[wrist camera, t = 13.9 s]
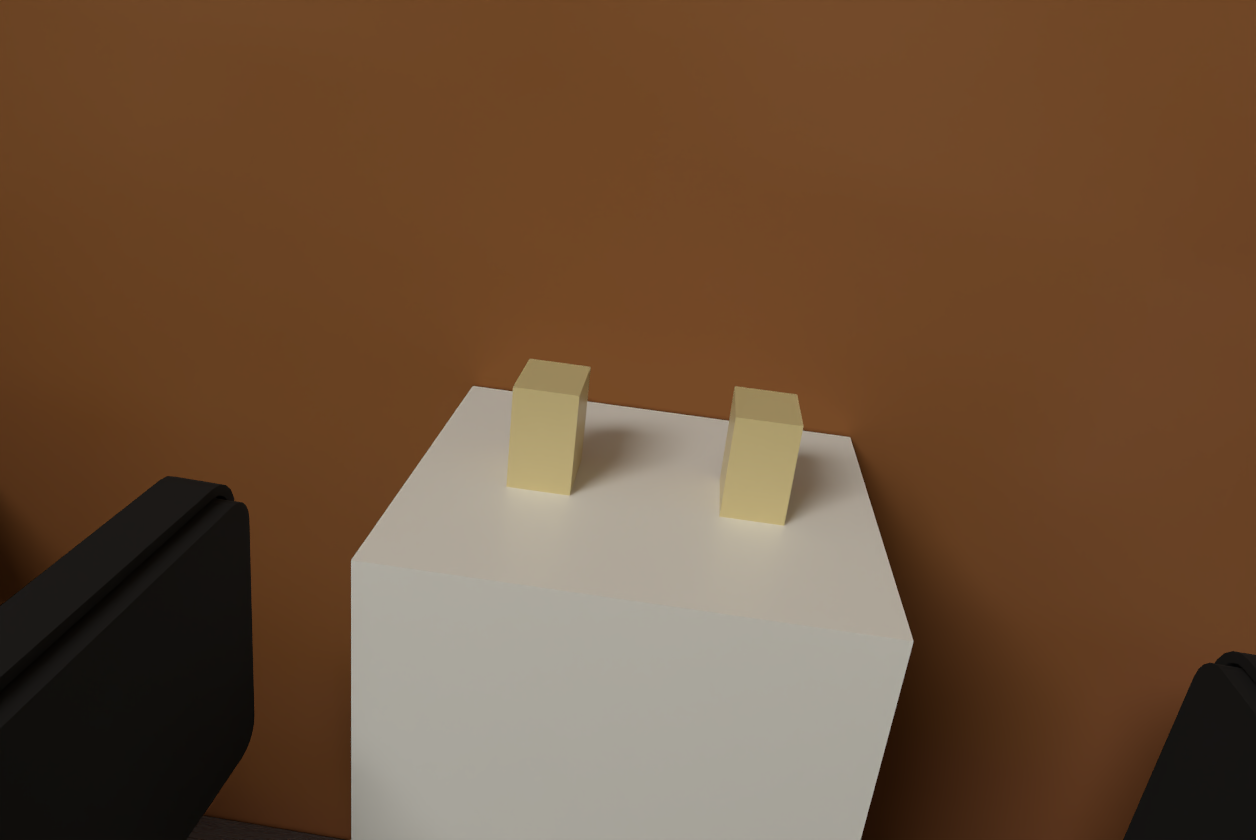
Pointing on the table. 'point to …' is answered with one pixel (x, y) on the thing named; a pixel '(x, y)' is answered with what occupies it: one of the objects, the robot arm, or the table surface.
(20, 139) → the table surface
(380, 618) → the plug
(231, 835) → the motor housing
